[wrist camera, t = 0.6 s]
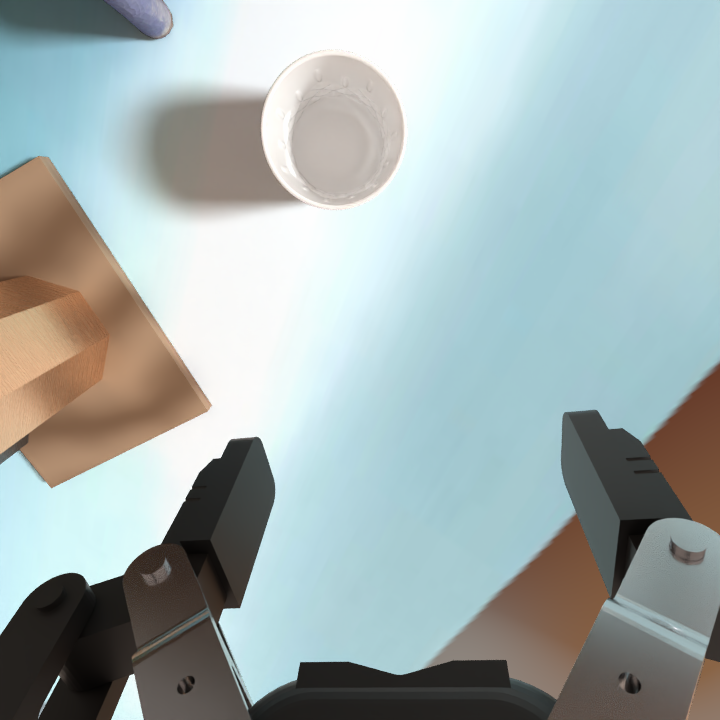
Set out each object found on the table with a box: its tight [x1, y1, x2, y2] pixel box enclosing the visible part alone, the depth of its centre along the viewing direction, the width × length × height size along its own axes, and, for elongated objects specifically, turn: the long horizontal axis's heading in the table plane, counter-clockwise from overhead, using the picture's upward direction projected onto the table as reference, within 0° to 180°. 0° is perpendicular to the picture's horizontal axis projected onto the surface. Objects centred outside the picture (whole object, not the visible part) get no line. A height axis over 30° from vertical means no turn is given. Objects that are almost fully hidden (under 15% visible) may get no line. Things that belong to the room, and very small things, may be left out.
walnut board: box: [0, 156, 212, 488], centre depth 39 cm, size 22×16×1 cm
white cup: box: [261, 50, 407, 210], centre depth 31 cm, size 8×8×10 cm
